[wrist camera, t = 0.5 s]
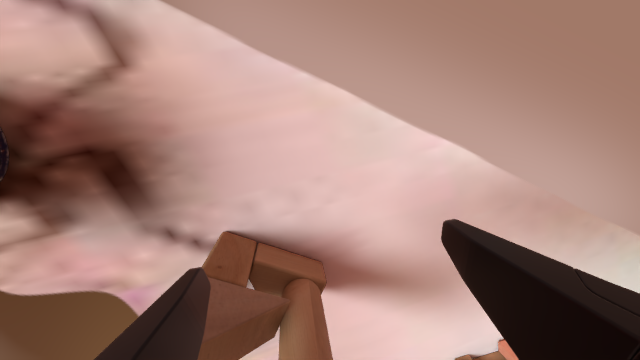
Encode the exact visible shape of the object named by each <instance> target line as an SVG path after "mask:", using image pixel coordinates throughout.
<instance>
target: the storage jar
mask: <svg viewBox="0 0 640 360" xmlns="http://www.w3.org/2000/svg"><path fill="white" fill-rule="evenodd" d="M8 163H9V151H8V145H7V141H6V138H5V136H4V134H3V131H2V129H1V127H0V181H1V180H2V179H3V177H4V175H5V173H6V171H7V167H8Z"/></svg>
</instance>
